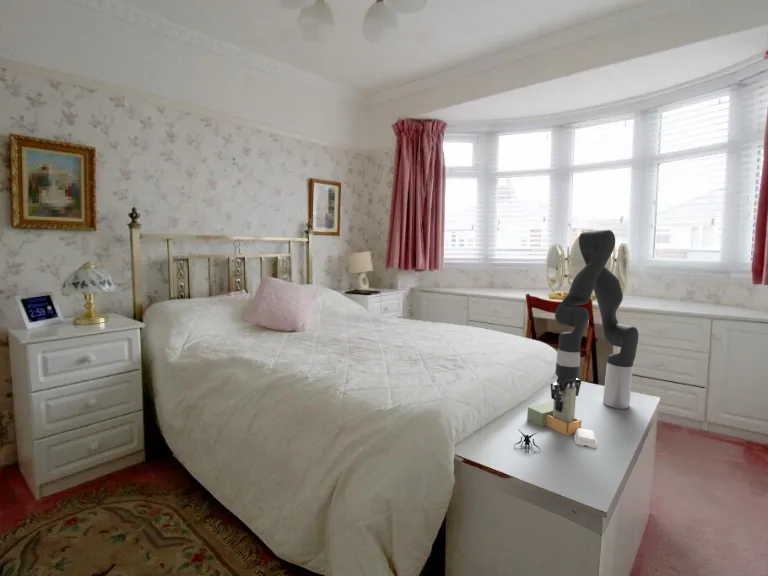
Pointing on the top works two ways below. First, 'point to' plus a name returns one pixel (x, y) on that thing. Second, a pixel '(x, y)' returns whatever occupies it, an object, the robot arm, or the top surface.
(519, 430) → the creature
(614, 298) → the robot arm
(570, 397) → the skincare box
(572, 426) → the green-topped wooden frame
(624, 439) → the top surface
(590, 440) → the soap
